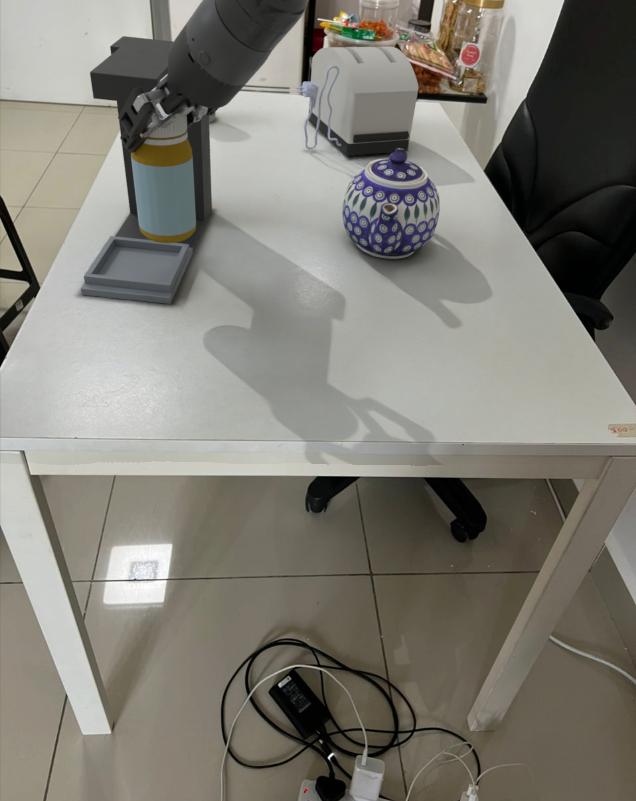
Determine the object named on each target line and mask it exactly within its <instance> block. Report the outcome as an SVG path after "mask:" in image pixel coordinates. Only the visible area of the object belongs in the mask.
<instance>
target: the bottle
mask: <svg viewBox="0 0 636 801" xmlns="http://www.w3.org/2000/svg"><path fill="white" fill-rule="evenodd" d="M156 106H157V108H158V109H159V111H160V113H161V114H162V116H163V118H165V117H166V116H168V115H167V114H165V112H164V111H163V109H162V107H161V106H160V104H159V103H158V104H157V105H156ZM150 123H152V118H150V120H149V121H148V123H147V126H148V125H149V124H150ZM187 137H188V135H187V115H182V116H180V117H179V118H178V119H177V120H175V121H174V122H173V123H172V124H170V125H169V126H168V127H167V128H157V129H156V130H155V131H154V132H153V133H151V134H150V135H149V136H148V138H147V139H146V140H145V142H144V143H143V144H142V145H141V147H139V148H138V149H137V151H136V152H133V153H131V160H132V169H133V177H134V186H135V195H136V203H137V212H138V221H139V227H140V231H141V233H142V234H144V235H145V236H146V237H147V238H148V239H150V240H152V241H155V242H160V243H176V242H180V241H184V240H186V239H188V238H189V237H190V236H191V235H192V234H193V233H194V231H195V230H196V213H195V194H194V175H193V156H192V148H191V146H190V143H189V141H188V138H187Z"/></svg>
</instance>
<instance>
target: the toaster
mask: <svg viewBox="0 0 636 801" xmlns="http://www.w3.org/2000/svg"><path fill="white" fill-rule="evenodd" d="M310 73H311V75H310V81H303V82H302V85H301V86H296V90H299V91H298V93H299V94H302V96H303V98H309V102H308V115H307V117H306V119H305V122H304V127H303V129H304V130H303V131H304V137H305V143H304V146H305V148H306V149H307V150H314V149H315V148H316V147H317V145H318V133H319V132H320V133H321V134H322V135H324V136H325V137H326V138H327V139H328V140H329V141H330V142H331V143H332V144H333V145H334V146H336V147H337V148H338V149H339V150H340V151H341V152H342V153H343V154H344V155H346V156H347V158H353V157H354V156H363V155H364V156H365V155H374V154H376V155H377V154H387V153H388V154H389V153H393V152H395V150H396V149H398V148H400V149H404V150H405V151H406V152H408V151H409V146H410V140H411V134H412V128H413V122H414V116H415V110H416V104H417V98H418V92H419V84H418V80H417V76H416V73H415V71H414V68H413V66H412V64H411V62H410V60H409V58H408V57H407V56H406V55H405V54H404V52H403V51H401V50H400V49H399V48H397V47H395V46H390V45H389V46H344V47H341V46H334V47H333V46H328V47H322V48H320V49H319V50H317V51H316V52H315V54H314V55H313V57H312V58H311V71H310ZM308 122H309V123H310V124H311V125H312V126H314V128H315V133H314V134H315V135H314V144H313V146H308V141H309V137H308V130H307V127H308V126H307V125H308Z"/></svg>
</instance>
